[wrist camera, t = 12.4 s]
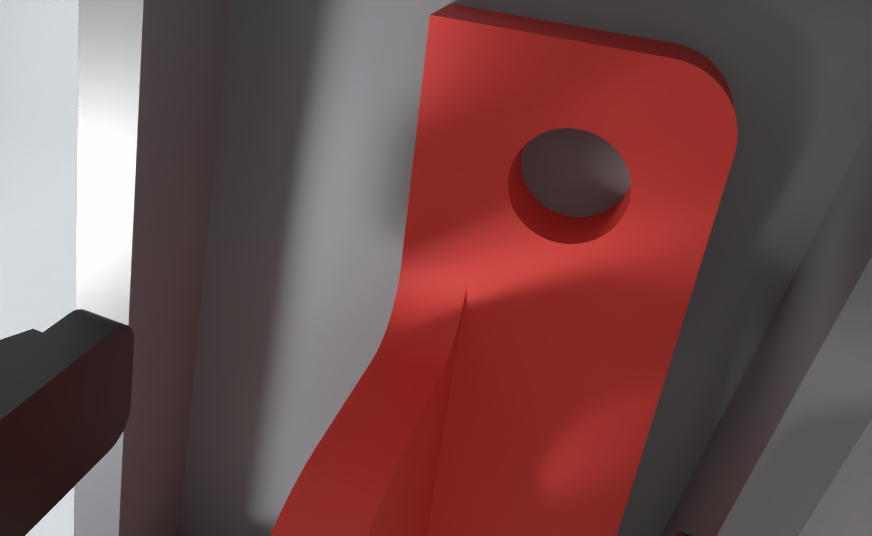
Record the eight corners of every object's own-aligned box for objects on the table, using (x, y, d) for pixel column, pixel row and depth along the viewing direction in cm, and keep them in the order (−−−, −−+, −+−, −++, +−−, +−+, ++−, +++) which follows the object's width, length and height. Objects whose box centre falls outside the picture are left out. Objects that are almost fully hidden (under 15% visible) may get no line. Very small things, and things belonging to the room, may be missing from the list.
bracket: (581, 622, 17) (513, 1121, 10) (380, 559, 18) (192, 981, 11) (753, 57, 12) (850, 322, 5) (449, 3, 12) (162, 163, 6)
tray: (231, -321, 12) (82, -384, 9) (1057, -119, 11) (1204, -116, 8) (162, 517, 21) (73, 626, 18) (613, 698, 19) (600, 852, 16)
